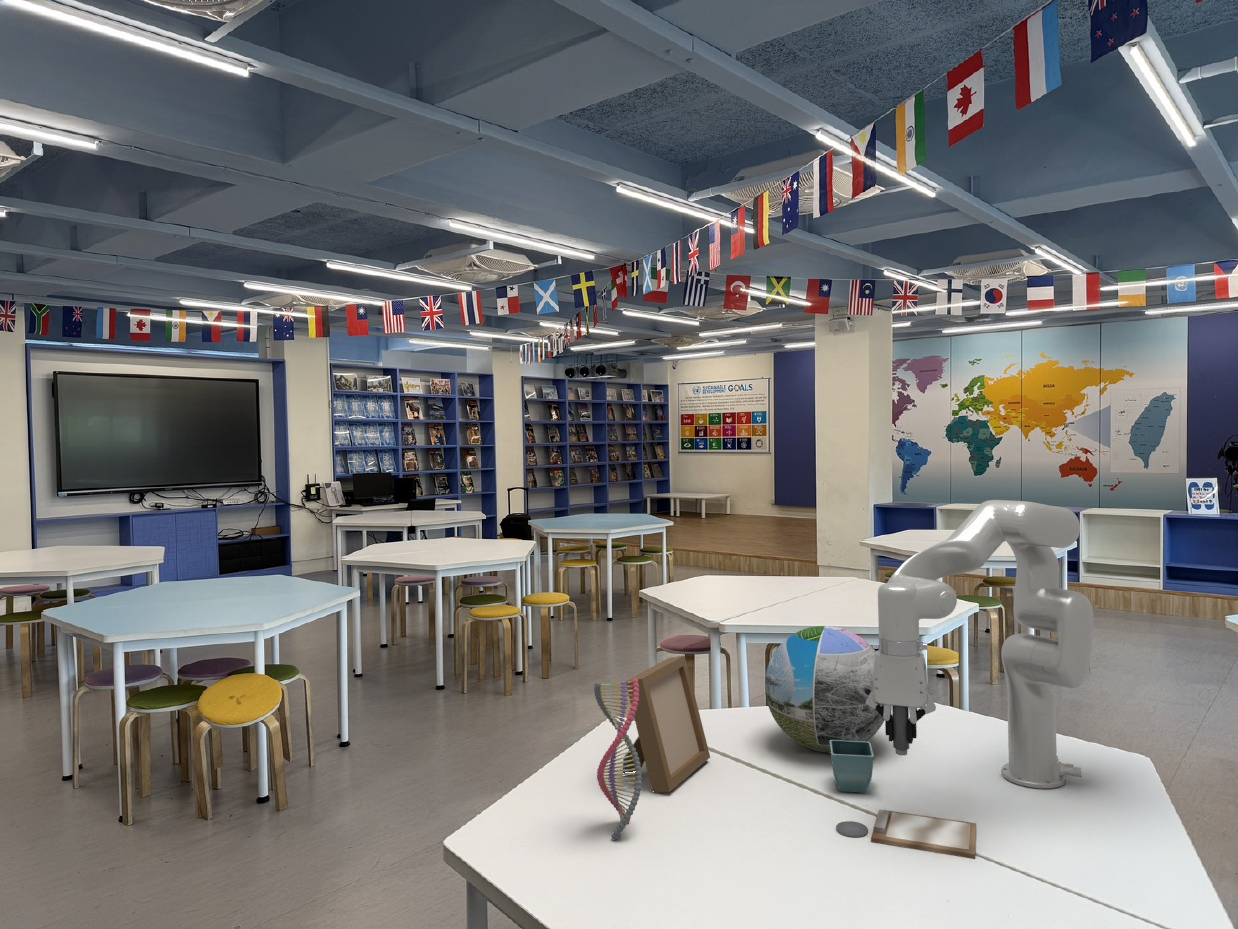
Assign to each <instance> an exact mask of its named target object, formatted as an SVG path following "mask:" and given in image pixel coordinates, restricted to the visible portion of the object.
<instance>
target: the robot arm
mask: <svg viewBox="0 0 1238 929" xmlns="http://www.w3.org/2000/svg"><path fill="white" fill-rule="evenodd" d="M1080 532H1081V524H1080V521H1079V518H1078V516H1077V515H1076V514H1075V512H1073V511H1072V510H1071V509H1069V508H1066V507H1061V506H1056V505H1049V504H1044V503H1038V502H1034V501H1033V502H1032V501H1026V500H1025V501H1023V500H1007V499H1005V500H1004V499H990V500H985V501H982V502H981V503H980V504H978V505H977V506H976V507H975V509H973V511H971V513H970V514H968V516H967V517H966V518H965V520H964V521H963V522H962V523H961V524H960V525H959V526H958V527H957V528H956V530H954V531H953V533H952V534H951V535H950V536H949V537H948V538H947V539H945V540H944V541H941V542H938V543H936V544H934V545H933V544H932V546H930V547H928V548H926V549H923V550H921V551H919V552H917V553H915V554H913V555H912V556H910V557H909V558H907V559H906V560H905V561H903V563H902V564H901V565H900V566H899V567H898V568H897V570H895V572H894V573H893V574H892V575H891V577H889V580H887V582H885V583H883V584H881V585H880V586H879V587H878V590H877V612H878V613H877V614H878V616H877V617H878V623H877V624H878V650H875V651H876V654H875V660H874V669H873V689H872V691H871V692H870V694H869V696H868V698H867V700H866V704H867V705H869V706H870V707H872V708H874V709H876V711H877V712H878V713H879V714H880V715H881V716H882V717H883V719H884V720H885V721H884V725H885V726H884V727H885V736H888V742H892V743H893V715H892V706H901V707H908V708H909V722H908V743H909V745H912V744H913V742H914V739H917V736H918V734H917V733H918V732H917V731H918V730H917V722H919V721H920V720H921V718H923V717H924V716H925V715H928V714H931V713H934V712H935V711H936V709H937V705H936V704H935V701H934V700H933V699H932V696H931V695H930V694H929V682H928V681H929V680H928V670H927V664H926V659H925V655H924V653H922V652H921V651H924V650H925V651H927V650H928V643H927V642H923V641H922V640H920V620H940V619H944V618H946V617H948V616H950V615H951V614H952V613H953V612H954V611H955V609H956V607H957V604H958V598H957V597H958V596H957V594H956V591H955V589H954V588H953V587H952V586H951V585H949V584H947V583H946V582H943V581H942V580H941V581H940V580H939V579H941V578H946V577H951V576H956V575H964V574H966V573H971V572H974V571H978V570H979V569H981V568H982V567H983V566H984V565H985V564H986V563H987V561H988V560H989V559H990V558H991V557H992V555H993V554H994V553H995V551H997V550H998V549H999V547H1000V546H1001V545H1002V544H1003V543H1004V542H1006V543H1007V544H1008V546H1009V547H1010V549H1011V550H1012V553H1013V555H1014V557H1015V562H1016V575H1015V585H1014V595H1013V596H1014V597H1013V617H1014V619H1015V621H1016V622H1017V623H1018V624H1019V625H1021V626H1023V627H1025V628H1030V629H1033V630H1038V631H1039V630H1040V631H1044V632H1049V633H1054V634H1057V639H1055V638H1050V637H1046V636H1041V635H1035V634H1029V633H1014V634H1013V635H1010V636H1008V637H1007V638H1006V639H1005V640H1004V642H1003V644H1002V646H1001V651H1000V655H1001V662H1002V666H1003V671H1004V675H1005V682H1006V694H1007V698H1006V699H1007V738H1008V740H1007V741H1008V742H1007V744H1008V745H1007V746H1008V763H1006V764H1004V765H1002V767H1001V769H1000V771H1001V775H1002V777H1004V779H1006V780H1007V781H1009V782H1011V783H1013V784H1016V785H1019V786H1023V787H1028V788H1033V789H1034V788H1035V789H1055V788H1059V787H1061V786H1063V785H1064V784H1065V782H1066V776H1071V777H1076V778H1077V777H1078V778H1081V777H1082V769H1081V767H1076V766H1074V765H1075V764H1073V763H1062V761H1059V757H1058V755H1057V750H1058V748H1057V715H1056V713H1057V712H1056V711H1057V704H1056V702H1057V701H1056V697H1055V694H1054V692H1053V689H1052V687H1051V686H1050V685H1053V686H1057V687H1062V688H1066V689H1077V688H1080V687H1081V686H1083V684H1084V683H1085V682H1086V681H1087V679H1088V676H1089V672H1090V665H1091V659H1092V646H1093V635H1094V622H1095V620H1094V618H1095V617H1094V608H1093V606H1092V604H1091V601H1090V599H1089V598H1088V597H1087V596H1086V595H1085V594H1083V593H1081V592H1079V591H1075V590H1070V589H1066V588H1065V589H1063V588H1060V564H1059V560H1058V557H1057V555H1056V553H1055V551H1054V550H1053V548H1055V549H1057V548H1058V549H1064V548H1069V547H1071V546H1072V545H1074V543H1075V542H1076V541H1077V540H1078V538H1079V536H1080ZM883 705H884V706H883Z"/></svg>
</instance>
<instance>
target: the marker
mask: <svg viewBox="0 0 1238 929" xmlns="http://www.w3.org/2000/svg"><path fill="white" fill-rule="evenodd" d="M891 714H892V717H893V741H892V747H893V749H895V751H894V752H895V754H896V755H898V756H907V755H908V750H909V749H910V744H909V743H908V722H909V718H910V714H909V707H901V706H892V710H891Z"/></svg>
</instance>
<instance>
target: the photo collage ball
mask: <svg viewBox="0 0 1238 929" xmlns="http://www.w3.org/2000/svg"><path fill="white" fill-rule="evenodd" d="M876 651H877V650H875V648H874V647H873V646H872V645H871V644H869V643H868V642H867V641H866V640H865V639H863V638H862V637H861V636H859V635H858V634H856V633H854V632H852V631H850V630H847V629H844V628H841V627H837V626H831V625H817V626H811V627H807V628H804V629H801V630H798V631H796V632H795V633H793V634H791V635H790V636H788V637H787V638H786V639H785V640H783V642H782V643H780V645H779V646H778V647H777V648H776V649H775V651H774V653H773V654H772V656H771V658H770V660H769V662H768V665H767V668H766V672H765V677H764V693H765V699H766V702H767V705H768V709H769V712H770V713H771V716H772V717H773V719H774V721H775V722H776V724H777V725H778V727H779V728H780V729H781V730H782V731H783V732H784V734H785V735H787V736H788V737H789V739H791V740H793V741H794V742H796V743H797V744H799V745H801V746H803V747H805V748H807V749H810V750H812V751H817V752H820V753H830V754H831V750H830V740H844V741H866V742H869V740H871V739H872V738H873V737H874V736H875V735H876V733H877V732H878V731H879V730H880V729H881V727H882V726H883V724H885V720H884V719H883V717H882V716H881V715H880V714H879V713H878V712H877V711H876V709H874V708H872V707H870V706H869V705H867V704H866V700H867V698H868V696H869V694H870V692H871V691H872V689H873V669H874V660H875V654H876ZM883 706H884V705H883Z"/></svg>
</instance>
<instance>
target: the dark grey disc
mask: <svg viewBox="0 0 1238 929" xmlns="http://www.w3.org/2000/svg"><path fill="white" fill-rule="evenodd" d="M835 830H836V832H837V833H838V834H840V835H842V836H844V837H848V838H857V839H858V838H862V837H863V838H864V837H865V836H867V835H868V834H869V828H868V827H867V826H866V825H865V824H863V823H862V822H858V821H852V820H851V821H849V820H848V821H847V820H846V821H841V822H839V823H837V824H836V825H835Z"/></svg>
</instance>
